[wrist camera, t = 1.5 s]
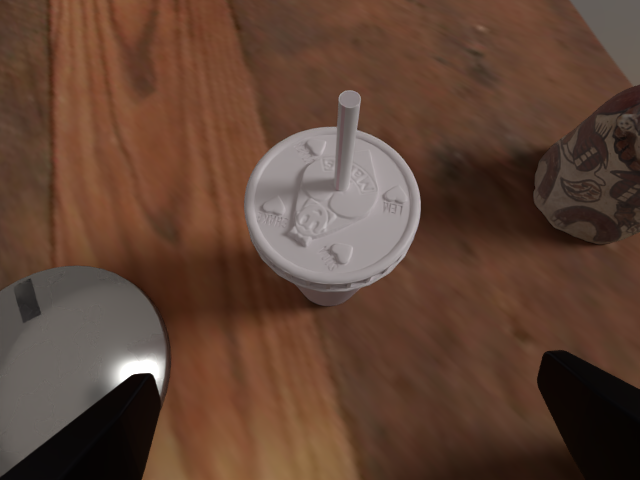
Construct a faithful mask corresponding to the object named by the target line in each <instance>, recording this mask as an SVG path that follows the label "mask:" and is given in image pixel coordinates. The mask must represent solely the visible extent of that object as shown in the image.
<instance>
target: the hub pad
mask: <svg viewBox="0 0 640 480" xmlns="http://www.w3.org/2000/svg"><path fill="white" fill-rule="evenodd" d="M170 367H171V351H170V342H169V337H168V332H167V329H166V326H165V323H164V320H163V318H162V316H161V314H160V312H159V310H158V309H157V307H156V306H155V304H154V303H153V302H152V300H151V299H150V298H149V297H148V296H147V295H146V294H145V293H144V292H143V291H142V290H141V289H140V288H139V287H137V286H136V285H134V284H133V283H132V282H130V281H128V280H126V279H124V278H123V277H121V276H119V275H117V274H115V273H112V272H109V271H107V270H104V269H100V268H95V267H88V266H65V267H58V268H53V269H48V270H45V271H41V272H38V273H35V274H32V275H30V276H27V277H25V278H23V279H20V280H19V281H17V282H15V283H13V284H11V285H9V286H7V287H6V288H4V289H3V290H1V291H0V477H1V476H2V475H3V474H5V473H6V472H7V471H9V470H10V469H11V468H12V467H14V466H15V465H16V464H18V463H19V462H20V461H21V460H23V459H24V458H25V457H27V456H28V455H29V454H30V453H32V452H33V451H34V450H36V449H37V448H38V447H39V446H41V445H42V444H43V443H45V442H46V441H47V440H48V439H50V438H51V437H52V436H54V435H55V434H56V433H57V432H59V431H60V430H61V429H62V428H64V427H65V426H66V425H68V424H69V423H70V422H71V421H73V420H74V419H75V418H77V417H78V416H79V415H80V414H82V413H83V412H84V411H86V410H87V409H88V408H89V407H91V406H92V405H93V404H95V403H96V402H97V401H98V400H100V399H101V398H102V397H104V396H105V395H106V394H107V393H109V392H110V391H111V390H113V389H114V388H115V387H116V386H118V385H119V384H120V383H122V382H123V381H124V380H125V379H127V378H128V377H129V376H131V375H132V374H135V373H152V374H153V375H154V377H155V380H156V384H157V388H158V391H159V395H160V399H161V408H162V405H163V402H164V399H165V395H166V392H167V388H168V383H169V378H170ZM160 410H161V409H160Z"/></svg>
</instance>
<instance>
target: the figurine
mask: <svg viewBox="0 0 640 480" xmlns="http://www.w3.org/2000/svg"><path fill="white" fill-rule="evenodd" d="M534 203H535V205H536V206H537V208H538V209H539V210H540V211H541V212H542V213H543V214H544V215H545V216H546V218H547V220H548V221H549V222H550V224H551V225H552V226H553V227H554V228H557V229H559V230H562V231H564V232H566V233H568V234H570V235H572V236H574V237H578V238H581V239H583V240H585V241H587V242H592V243H595V244H608V243H612V242H616V241H620V240H623V239H625V238H627V237H629V236H632V235H634V234H636V233H639V232H640V85H638V86H634V87H631V88H629V89H626V90H624V91H622V92H620V93H619V94H617V95H615V96H614V97H612V98H611V99H610V100H608V101H607V102H605V103H604V104H603V105H602V106H601V107H599V108H598V109H597V110H596V111H595V112H594V113H593V114H592V115H591V116H589V117H588V118H587V119H586V120H584V121H583V122H582V123H581V124H580V125H578V126H577V127H576V128H575V129H574V130H573V131H571V132H570V133H568V134H567V135H566V136H564V137H563V138H561V139H560V140H559V141H557V142H556V143H555V144H554V145H552V146H551V148H550V149H549V150H548V151H547V152H546V153H545V154H544V156H543V157H542V158H541V159H540V160H539V163H538V169H537V171H536V174H535V190H534Z"/></svg>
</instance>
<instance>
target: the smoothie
mask: <svg viewBox="0 0 640 480" xmlns="http://www.w3.org/2000/svg"><path fill="white" fill-rule="evenodd" d="M360 102H361V97H360V95H359V94H358V93H357V92H355V91H345V92H343V93H341V94H340V96H339V104H338V121H337V127H322V128H315V129H310V130H306V131H302V132H299V133H297V134H294V135H292V136H290V137H288V138H286V139H284V140H282V141H281V142H279V143H278V144H276V145H275V146H274V147H273V148H271V149H270V150H269V151H268V152H267V153H266V154H265V155H264V156H263V157H262V158H261V160H260V161H259V162H258V164H257V165H256V167H255V168H254V170H253V172H252V174H251V176H250V178H249V181H248V184H247V187H246V192H245V200H244V211H245V218H246V222H247V226H248V229H249V233H250V238H251V241H252V243H253V245H254V247H255V248H256V250H257V252H258V253H259V255H260V257H261V259H262V260H263V261H264V262H265V263H266V264H267V265H268V266H269V267H270V268H271V269H272V270H273V271H274V272H275V273H276V274H278V275H279V276H280V277H282V278H284V279H286V280H288V281H290V282H292V283H293V284H295V285H296V286H297V287H298V288H299V290H300V291H301V292H302V293H303V294H304V295H305V296H306V297H307V298H308V299H309V300H310V301H312V302H314V303H316V304H318V305H322V306H335V305H338V304H341V303H343V302H345V301H346V300H348V299H349V298H350V297H351V296H352V295H353V294H354V293H356V292H357V291H358V290H359V289H360V288H361V287H365V286H368V285H371V284H372V283H374V282H376V281H377V280H379V279H380V278H382V277H384V276H385V275H387V274H389V273H390V272H391V271H392V270H393V269H394V268H395V267H396V265H397V264H398V263H399V262H400V261H401V260H402V259H403V258H404V257H405V255H406V253H407V251H408V249H409V247H410V245H411V243H412V241H413V239H414V235H415V233H416V230H417V227H418V224H419V220H420V212H421V200H420V193H419V189H418V185H417V182H416V179H415V177H414V175H413V173H412V171H411V170H410V168H409V166H408V165H407V163H406V162H405V161H404V159H403V158H402V157H401V156H400V155H399V154H398V153H397V152H396V151H395V150H394V149H393V148H391V147H390V146H389V145H387V144H386V143H384V142H383V141H381V140H380V139H378V138H376V137H374V136H372V135H369V134H367V133H364V132H361V131H358V130H357V124H358V117H359V110H360Z"/></svg>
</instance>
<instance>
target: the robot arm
mask: <svg viewBox="0 0 640 480" xmlns="http://www.w3.org/2000/svg"><path fill="white" fill-rule="evenodd" d="M537 383H538V388H539V390H540V392H541V394H542V396H543V398H544V401H545V403H546V405H547V407H548V409H549V411H550V413H551V415H552V417H553V419H554V421H555V423H556V425H557V427H558V430H559V432H560V434H561V436H562V438H563V440H564V442H565V444H566V446H567V448H568V450H569V452H570V454H571V455H572V457H573V459H574V461H575V462H576V464H577V466H578V468H579V469H580V471H581V473H582V474H583V476H584V478H585V479H586V480H640V389H638V388H636V387H634V386H632V385H630V384H628V383H626V382H624V381H623V380H621V379H619V378H617V377H615V376H613V375H611V374H609V373H607V372H605V371H603V370H601V369H600V368H598V367H596V366H594V365H592V364H590V363H588V362H586V361H584V360H582V359H580V358H578V357H576V356H575V355H573V354H571V353H569V352H567V351H564V350H556V351H547V352H545V353H544V354H543V357H542V361H541V365H540V369H539V373H538V377H537ZM160 409H161V399H160V395H159V391H158V388H157V384H156V380H155V377H154V375H153V374H152V373H135V374H132V375H131V376H129V377H128V378H127V379H125V380H124V381H123V382H122V383H120V384H119V385H118V386H116V387H115V388H114V389H113V390H111V391H110V392H109V393H107V394H106V395H105V396H104V397H102V398H101V399H100V400H98V401H97V402H96V403H95V404H93V405H92V406H91V407H89V408H88V409H87V410H86V411H84V412H83V413H82V414H80V415H79V416H78V417H77V418H75V419H74V420H73V421H71V422H70V423H69V424H68V425H66V426H65V427H64V428H62V429H61V430H60V431H59V432H57V433H56V434H55V435H54V436H52V437H51V438H50V439H48V440H47V441H46V442H45V443H43V444H42V445H41V446H39V447H38V448H37V449H36V450H34V451H33V452H32V453H30V454H29V455H28V456H27V457H25V458H24V459H23V460H21V461H20V462H19V463H18V464H16V465H15V466H14V467H12V468H11V469H10V470H9V471H7V472H6V473H5V474H3V475H2V476H1V477H0V480H142V477H143V474H144V470H145V467H146V463H147V459H148V455H149V451H150V447H151V444H152V440H153V436H154V432H155V428H156V425H157V421H158V417H159V413H160Z"/></svg>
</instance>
